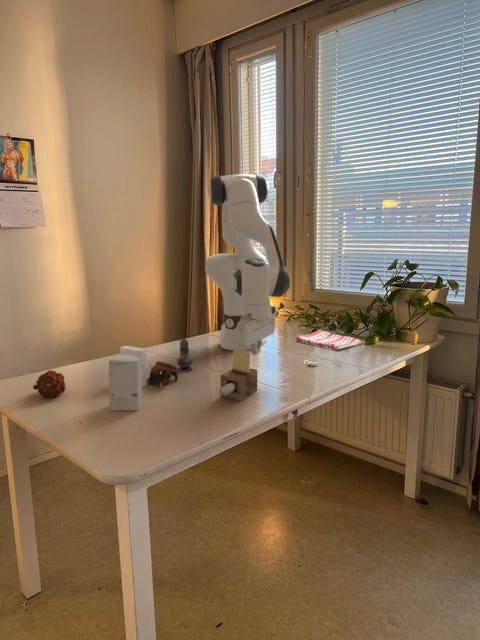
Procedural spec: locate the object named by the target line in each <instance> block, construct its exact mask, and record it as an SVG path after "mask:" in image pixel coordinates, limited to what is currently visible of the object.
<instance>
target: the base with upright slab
mask: <svg viewBox="0 0 480 640" xmlns="http://www.w3.org/2000/svg"><path fill="white" fill-rule="evenodd" d="M119 352H120V353H119V355H130V356H141V372H142V388H143V387H146V386H147V385H148V378H149V364H147V362H148V361H147V349H146V348H143V347H136V346H130V345H124V346H123V345H122V346H121V347H119ZM148 386H149V385H148Z"/></svg>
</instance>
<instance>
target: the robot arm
mask: <svg viewBox="0 0 480 640" xmlns="http://www.w3.org/2000/svg"><path fill="white" fill-rule="evenodd" d="M209 180H210V181H209V182H208V183H209V184H208V186H207V194H208V198H209V199H210V202H211V203H212V204H213V205H215V206H220V207H221V206H222V209H221V210H222V211H221V224H222V225H221V226H222V229H221V230H222V233H221V234H222V239H223V241H224V242H225V243H226V244H227V245H229V246H231V247H234V248H235V249H236V250H237V252H235V253H233V252H232V253H231V252H230V253H228V252H227V253H225V252H224V253H217V254H213V255H209V257H208V258H207V259H206V261H205V265H204V269H205V273H206V275H207V277H208V278H209V279H210V280H211V281H213V282H214V283H215V284H216V285H217V287H218V288H219V289H220V292H221V295H222V300H223V301H222V302H223V313H222V323H223V324H222V325H221V327H220V328H221V329H220V340H219V341H218V342H217V344H218V345H219V346H220V348H222V349H225V350H229V351H234V349H240V350H246V351H251V355H253V356H256V355H259V354H260V353H261V348H262V346H263V345H264V344H265V343H267V337H270V336H272V335H273V334H274V333H275V331H276V330H275V329H276V313H277V307H276V306H275V305H271V299H270V297H272V298H281V297H283V296H284V295H285V294H286V293H287V292H289V290H290V286H291V279H290V276H289V272H288V270H287V268H286V265H285V262H284V260H283V257H282V253H281V250H280V245H279V243H278V240H277V236H276V234H275V230H274V228H273V226H272V224H271V223H269V222H268V221H267V220H266V219H265V218H264V217H263V214H262V213H261V210H260V204H262V203H264V202H265V201H266V200H267V198H268V194H269V191H270V189H269V183H268V180H267V178H266V177H265V176H264V175H262V174H259V173H255V174H251V173H249V174H248V173H238V174H228V175H216V176H213V177H212V178H211V179H209ZM253 241H255V242H257V243H259V244H261V246H262V247H263V248H264V251H265V253H266V256H265V255H263V254H262V252H260V251H259V250H258V249H257V248H256V246H255V245H254V242H253Z"/></svg>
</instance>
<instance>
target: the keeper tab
mask: <svg viewBox="0 0 480 640" xmlns="http://www.w3.org/2000/svg"><path fill="white" fill-rule="evenodd" d="M232 353H233V355H232V366H231V367H232V368H231V369H232V371H235V372H241V373H246V374H249V369H250V368H251V355H252V353H251V350H240V349H234V350H233V352H232Z"/></svg>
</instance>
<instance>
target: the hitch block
mask: <svg viewBox="0 0 480 640" xmlns="http://www.w3.org/2000/svg"><path fill="white" fill-rule="evenodd" d="M233 381H234V382H237V389H236V390H234V391H233V392H231V393H229V394H228V395H226V396H221V395H220V397H221V398H224V399H227V400H233V401H236V402H242V401H244V400H246V399H247V398H249V397H250V396H252V395H253V394H255V393H257V392H258V369H255V368H251V367H250V369H249V374H246V373H241V372H235V371H232V368H231V369H230V370H228V371H225V372H224V373H221V374H220V388H222V387H223V386H225V385H227V384H229V383H231V382H233ZM256 391H257V392H256ZM254 392H255V393H254ZM251 394H252V395H251Z"/></svg>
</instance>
